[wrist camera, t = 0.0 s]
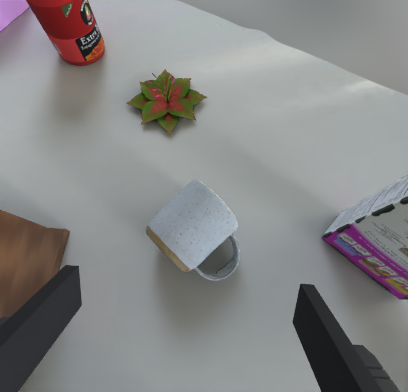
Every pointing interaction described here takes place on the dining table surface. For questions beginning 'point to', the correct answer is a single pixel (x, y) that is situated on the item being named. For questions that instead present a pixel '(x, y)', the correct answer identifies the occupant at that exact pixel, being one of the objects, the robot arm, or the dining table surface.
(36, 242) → the open wooden box
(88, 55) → the canned food
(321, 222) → the dining table surface
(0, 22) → the teapot
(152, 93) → the lily flower
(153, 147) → the dining table surface
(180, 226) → the ceramic mug
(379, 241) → the candy bar box
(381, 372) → the robot arm
